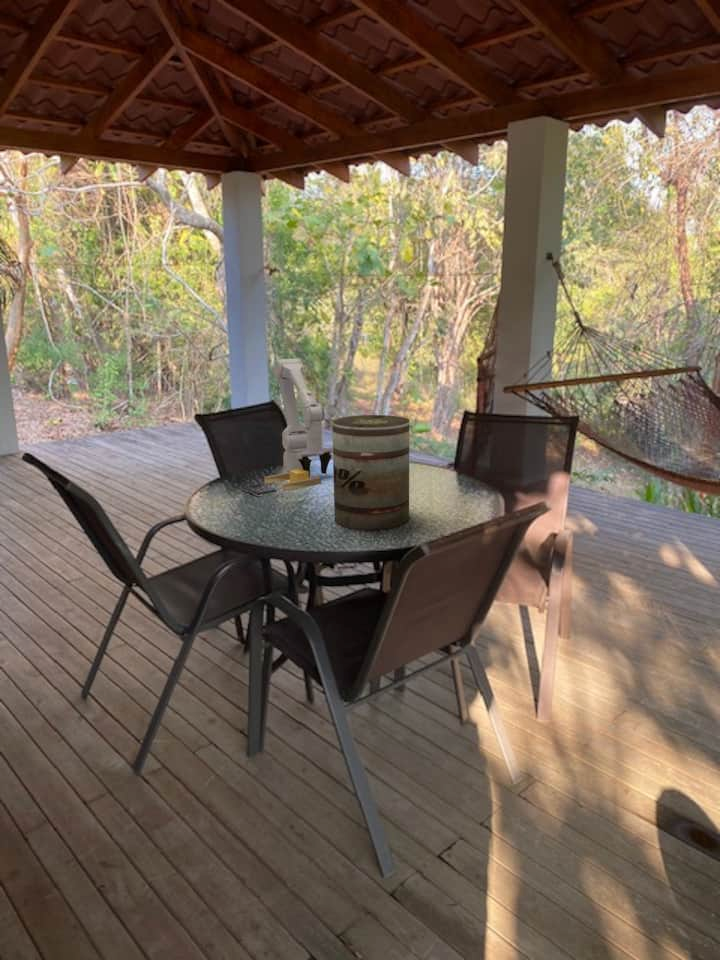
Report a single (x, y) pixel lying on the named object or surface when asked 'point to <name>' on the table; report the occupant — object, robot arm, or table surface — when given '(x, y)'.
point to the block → (298, 475)
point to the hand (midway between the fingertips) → (315, 474)
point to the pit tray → (256, 491)
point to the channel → (292, 484)
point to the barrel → (371, 472)
